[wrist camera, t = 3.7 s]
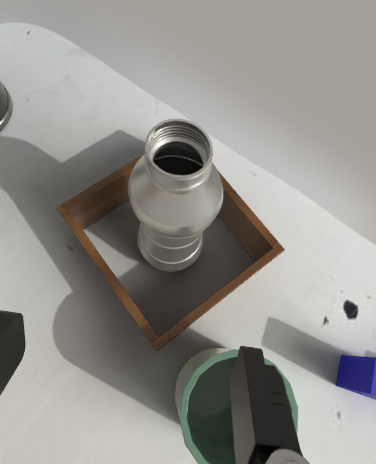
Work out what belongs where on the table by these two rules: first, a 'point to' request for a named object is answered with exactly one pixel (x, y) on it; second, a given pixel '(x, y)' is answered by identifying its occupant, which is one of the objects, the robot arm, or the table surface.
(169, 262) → the silver metal bottle
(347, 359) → the blue cradle bracket
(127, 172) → the open box
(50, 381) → the table surface
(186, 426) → the cup
